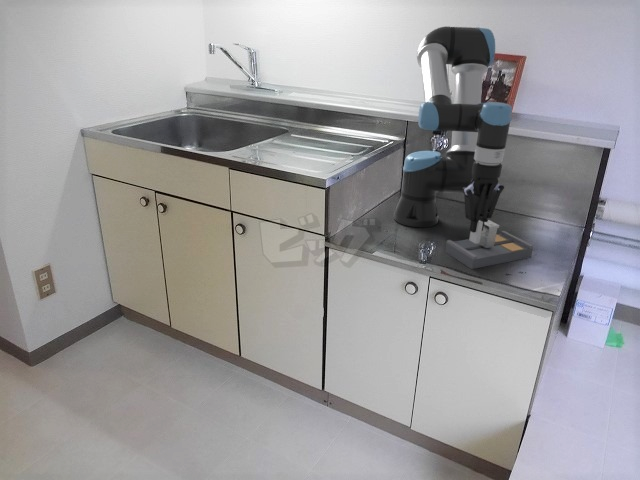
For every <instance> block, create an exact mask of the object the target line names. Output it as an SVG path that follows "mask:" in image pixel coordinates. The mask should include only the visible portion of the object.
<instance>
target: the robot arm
mask: <svg viewBox="0 0 640 480" xmlns="http://www.w3.org/2000/svg"><path fill="white" fill-rule="evenodd" d="M495 54H496V39H495V36H494V33H493V31H492V30H491V29H489V28H486V27H485V28H482V27H479V26H476V27H471V26H470V27H467V26H441V27H438V28H435V29H434V30H432V31H430V32H428V34H427V35H425V37H423V38H422V40H421V41H420V44H419V45H418V47H417V51H416V60H417V63H418V66H419V67H420V68H421V77H422V90H423V97H424V98H423V99H424V102H422V103H420V105H419V111H418V117H417V118H418V120H417V121H418V122H417V123H418V126H419V128H420V129H422V130H426V131H427V130H430V131H434V132H435V131H439V132H440V131H443V132H444V131H445V132H451V144H450V148H449V149H448V150H447V151H445V152H446V153H445V156H442V154H441V152H439V151H434V150H433V151H432V150H419V151H415V152H412V153H410V154H408V155H407V156H406V157H405V159H404V164H403V167H402V170H403V172H402V173H403V175H402V183H401V191H400V197H399V200H398V202H397V204H396V208H395V209H394V211H393V219H394V221H396V222H397V223H399V224H401V225H403V226H408V227H412V228H429V227H434V226H436V225H437V224H438V222H439V211H438V207H437V201H436V198H437V193H445V194H446V193H448V194H463V195H464V214H465V215H464V216H465V219H467V220H469V221H470V225H469V231H470V233H469V238H468V239H469V240H470V241H472V242H473V243H475V244H477V243H480V237H481V231H483V228H484V222H487V221H488V220H489V219H492V216H493V214H494V211H495V209H496V206H497V203H498V201H499V198H500V196H501V194H502V192H503V191H504V189H505V186H504V185H502V184H500V183H499V178H500V177H501V175H502V168H503V165H502V163H503V161H504V157H505V151H506V147H507V146H506V145H507V142H508V141H507V140H508V136H509V130H510V124H511V121H512V113H513V111H512V110H513V107H512V105H510V104H508V103H506V102H499V101H498V102H497V101H488V102H482V92H483V90H482V89H483V77H484V76H483V75H485V73H486V72H487V71H488V70H489V67H490V66H492V65H493V63H494V60H495ZM447 65H451V72H452V74H453V75H455V80H454V81H455V83H454V100H453V101H452V95H451V89H450V82H449V76H448V69H447Z"/></svg>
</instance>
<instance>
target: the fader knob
mask: <svg viewBox="0 0 640 480" xmlns="http://www.w3.org/2000/svg"><path fill="white" fill-rule="evenodd" d="M487 220H488V221H487V222H484V228H483V231H481V237H480V243H478V244H479V245H481V246H483V247H485V248H490V247H494V243H495V238H496V234H498V233H497V232H498V229H499V228H500V224H498V223H496V222H494V221H492V220H490V219H487Z"/></svg>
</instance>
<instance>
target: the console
mask: <svg viewBox="0 0 640 480" xmlns="http://www.w3.org/2000/svg"><path fill="white" fill-rule="evenodd" d="M469 239H470V238H467V239H462V240H455V241H453V240H451V239H448V240H446V246H445V253H447V254H448V255H449V256H451V258H453V259H455V260H457V261H458V262H460V263H462V264H463V265H465V266H466V267H468V268H469V269H471V270H476V269H479V268H484V267H489V266H495V265H499V264H504V263H505V264H506V263H508V262H514V261H519V260H523V259H529V258H532V253H533V248H534V245H533V244H531V243H529V242H528V241H525V240H524V239H521V238H519V237H518V236H515V235H514V234H512V233H510V232H507V231H506V230H501V231H500V233H496V238H495V243H494V247H490V248H485V247H483V246H481V245H479V244H478V243H477V244H475V243H473V242H472V241H470V240H469Z"/></svg>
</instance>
